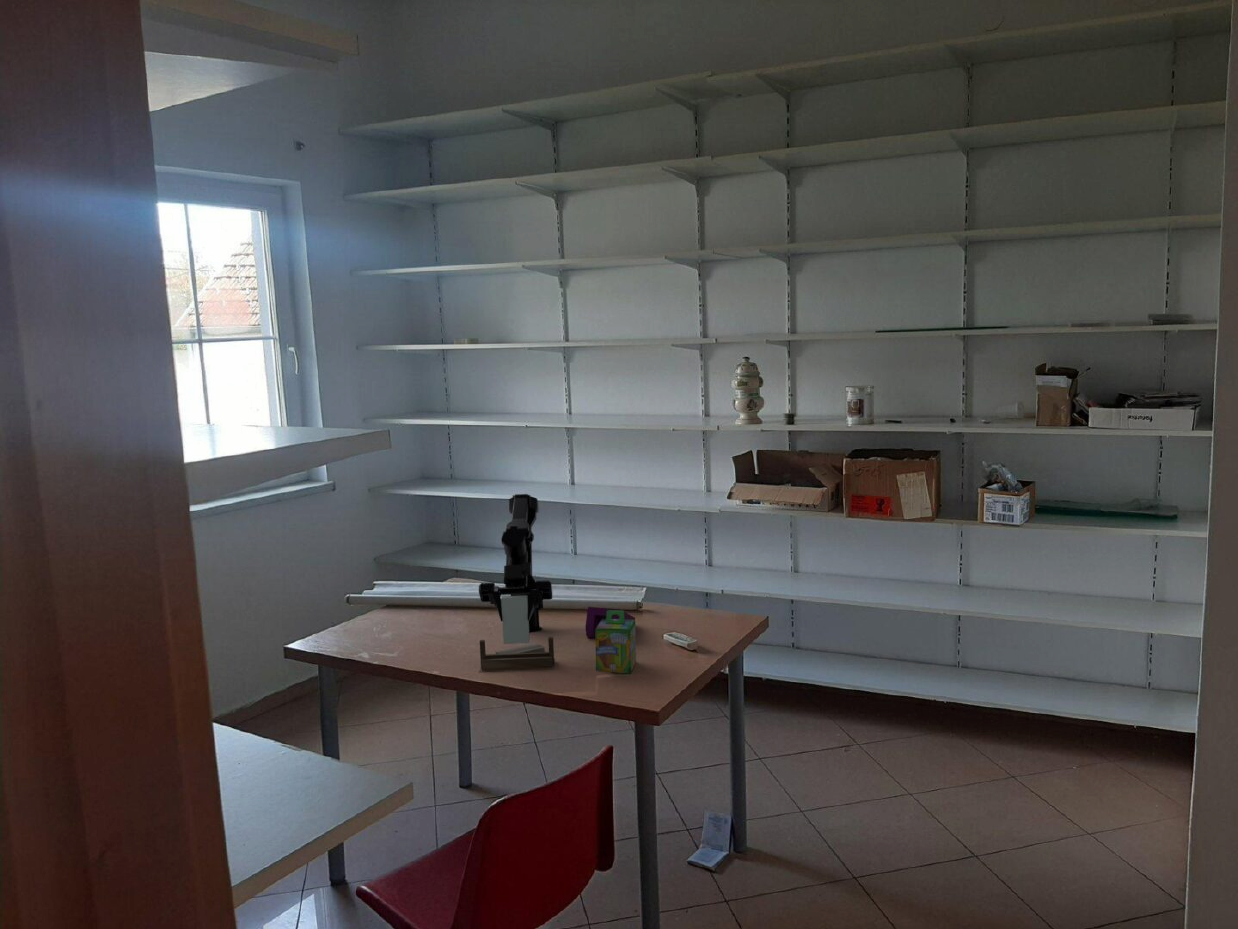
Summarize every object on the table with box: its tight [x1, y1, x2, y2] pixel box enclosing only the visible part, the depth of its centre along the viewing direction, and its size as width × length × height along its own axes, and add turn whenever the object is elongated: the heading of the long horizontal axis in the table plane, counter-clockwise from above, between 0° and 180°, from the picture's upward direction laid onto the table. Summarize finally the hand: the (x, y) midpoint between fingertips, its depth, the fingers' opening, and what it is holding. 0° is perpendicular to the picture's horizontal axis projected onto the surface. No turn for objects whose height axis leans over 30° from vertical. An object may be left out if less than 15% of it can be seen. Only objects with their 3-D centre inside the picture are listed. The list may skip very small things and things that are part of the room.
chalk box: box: [594, 609, 637, 675], centre depth 235 cm, size 9×9×15 cm
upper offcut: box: [495, 642, 546, 654], centre depth 245 cm, size 5×12×2 cm, turn 121°
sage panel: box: [501, 595, 531, 645], centre depth 236 cm, size 2×6×12 cm, turn 91°
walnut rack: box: [478, 636, 556, 673], centre depth 237 cm, size 8×19×8 cm, turn 91°
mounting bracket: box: [585, 606, 636, 640], centre depth 264 cm, size 10×8×18 cm
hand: (515, 620), depth 235 cm, fingers closed on sage panel, 6 cm apart
